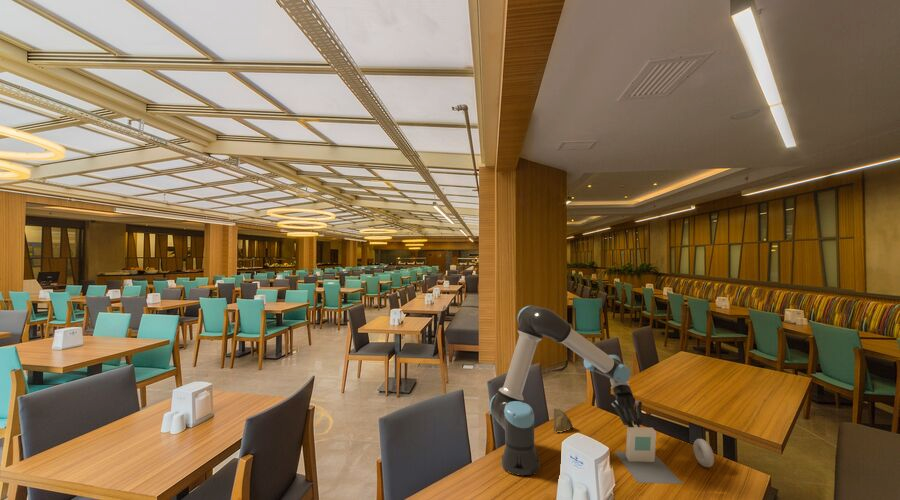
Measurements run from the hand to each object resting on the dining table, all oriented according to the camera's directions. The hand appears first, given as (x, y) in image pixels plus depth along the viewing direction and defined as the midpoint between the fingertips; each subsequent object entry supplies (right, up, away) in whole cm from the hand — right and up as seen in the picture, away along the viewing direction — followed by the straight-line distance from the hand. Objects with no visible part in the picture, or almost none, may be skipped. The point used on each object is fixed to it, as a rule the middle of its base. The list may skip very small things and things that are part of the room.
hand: (639, 442), depth 146 cm
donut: (+23, -6, -6) cm, 24 cm away
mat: (-1, -6, -7) cm, 9 cm away
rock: (-23, -9, +27) cm, 36 cm away
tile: (-1, -6, -2) cm, 6 cm away
